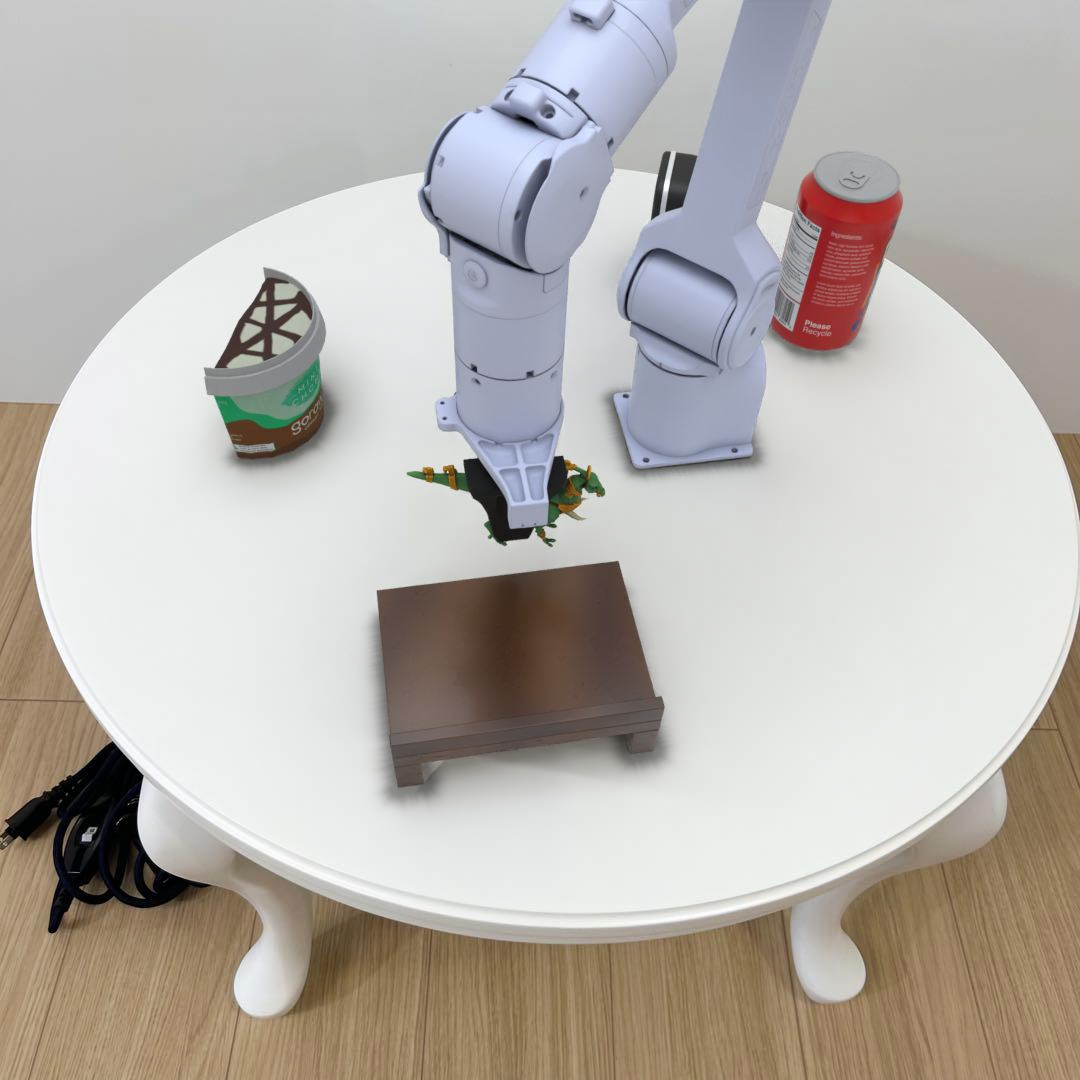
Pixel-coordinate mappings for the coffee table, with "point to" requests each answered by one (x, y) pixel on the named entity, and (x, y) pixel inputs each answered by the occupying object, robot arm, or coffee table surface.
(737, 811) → the coffee table surface
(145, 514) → the coffee table surface
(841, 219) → the soda can
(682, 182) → the battery charger
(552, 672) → the display stand
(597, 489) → the figurine
